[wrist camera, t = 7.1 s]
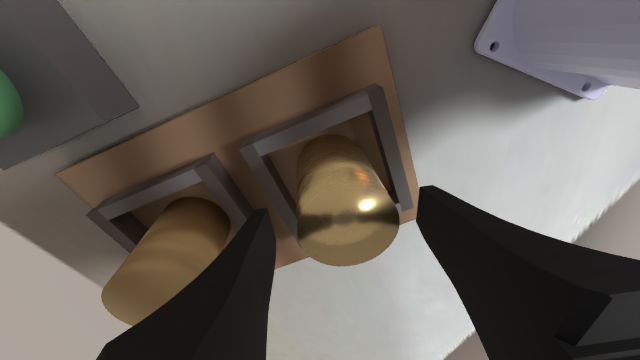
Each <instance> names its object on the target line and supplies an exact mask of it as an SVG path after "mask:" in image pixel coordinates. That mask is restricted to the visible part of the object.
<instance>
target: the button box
mask: <svg viewBox="0 0 640 360" xmlns="http://www.w3.org/2000/svg"><path fill="white" fill-rule="evenodd" d="M0 69H1V70H2V71H3V72H4V73H5V74H6V76H7V77H8V78H9V80H10V81H11V82H12V84H13V85H14V87H15V88H16V90H17V92H18V94H19V96H20V99H21V102H22V105H23V113H24V116H23V121H22V124H21V126H20V128H19V129H18V130H17V131H16V132H15V133H14V134H12V135H11V136H8V137H5V138H3V139H0V168H1V169H3V170H5V169H7V168H10V167H12V166H14V165H16V164H18V163H21V162H23V161H25V160H27V159H30V158H32V157H34V156H36V155H38V154H41V153H43V152H45V151H47V150H50V149H52V148H54V147H56V146H58V145H60V144H62V143H65V142H67V141H69V140H71V139H73V138H75V137H77V136H79V135H81V134H83V133H85V132H88V131H90V130H92V129H94V128H96V127H98V126H100V125H102V124H104V123H106V122H109V121H111V120H113V119H115V118H117V117H119V116H121V115H123V114H125V113H127V112H129V111H132V110H134V109H136V108H138V107H140V106H139V105H138V104H137V102H136V101H135V100H134V98H133V97H132V96H131V95H130V93H129V92H128V91H127V90H126V88H125V87H124V86H123V84H122V83H121V82H120V81H119V79H118V78H117V77H116V75H115V74H114V73H113V72H112V70H111V69H110V68H109V66H108V65H107V64H106V63H105V61H104V60H103V59H102V58H101V56H100V55H99V54H98V52H97V51H96V50H95V49H94V47H93V46H92V45H91V43H90V42H89V41H88V40H87V38H86V37H85V36H84V34H83V33H82V32H81V31H80V29H79V28H78V27H77V25H76V24H75V23H74V22H73V20H72V19H71V18H70V17H69V15H68V14H67V13H66V11H65V10H64V9H63V8H62V6H61V5H60V4H59V2H58V1H57V0H0Z"/></svg>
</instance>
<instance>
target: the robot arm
mask: <svg viewBox="0 0 640 360" xmlns="http://www.w3.org/2000/svg"><path fill="white" fill-rule="evenodd" d="M493 42H494V48H493V49H492V50H491V51H490V45H491V44H492V43H493ZM474 49H475V51H476V52H477V53H479V54H481V55H484V56H486V57H488V58H491V59H493V60H495V61H498V62H500V63H502V64H505V65H507V66H509V67H512V68H514V69H517V70H519V71H521V72H524V73H526V74H528V75H531V76H533V77H535V78H538V79H540V80H542V81H545V82H547V83H550V84H552V85H554V86H557V87H559V88H561V89H564V90H566V91H568V92H571V93H573V94H575V95H578V96H580V97H583V98H585V99H589V100H596V99H598V98H600V97H601V96H602V95H603V94H604V93H605V92H606V90H607V89H608V88H609V87H610V85H614V86H621V87H628V88H635V89H640V0H497V2H496V3H495V5H494V7H493V9H492V11H491V13H490V14H489V16H488V18H487V20H486V22H485V24H484V26H483V27H482V29H481V31H480V33H479V35H478V37H477V39H476V41H475V43H474ZM583 85H584V86H583ZM582 87H583V88H582ZM416 222H417V224H418V227H419V229H420V231H421V233H422V235H423V237H424V239H425V241H426V243H427V244H428V246H429V247H430V249H431V251H432V252H433V254H434V255H435V257H436V258H437V260H438V261H439V263H440V265H441V266H442V268H443V269H444V271H445V272H446V274H447V275H448V277H449V279H450V280H451V282H452V284H453V285H454V287H455V289H456V291H457V293H458V294H459V296H460V298H461V300H462V302H463V304H464V306H465V308H466V310H467V312H468V314H469V316H470V319H471V321H472V323H473V325H474V327H475V329H476V331H477V333H478V335H479V337H480V340H481V342H482V344H483V346H484V349H485V351H486V353H487V356H488V358H489V360H640V260H636V259H632V258H627V257H622V256H617V255H613V254H609V253H605V252H601V251H597V250H593V249H589V248H586V247H582V246H578V245H575V244H571V243H568V242H564V241H561V240H558V239H555V238H552V237H548V236H545V235H542V234H539V233H536V232H534V231H531V230H528V229H525V228H523V227H520V226H518V225H515V224H512V223H510V222H507V221H505V220H503V219H500V218H498V217H496V216H494V215H491V214H489V213H487V212H485V211H483V210H481V209H479V208H477V207H475V206H473V205H471V204H469V203H467V202H465V201H463V200H461V199H459V198H457V197H455V196H453V195H451V194H449V193H448V192H446V191H444V190H442V189H440V188H438V187H435V186H433V185H430V186H423V187H420V189H419V198H418V207H417V216H416ZM275 262H276V237H275V233H274V230H273V226H272V222H271V219H270V215H269V211H268V208H262V209H255V210H254V211H253V212H252V213H251V215H250V216H249V217H248V219H247V220H246V222H245V223H244V224H243V226H242V227H241V228H240V230H239V231H238V232H237V233H236V235H235V236H234V237H233V239H232V240H231V241H230V242H229V243H228V245H227V246H226V247H225V248H224V249H223V250H222V252H221V253H220V254H219V255H218V256H217V257H216V258H215V259H214V260H213V261H212V263H211V264H210V265H209V266H208V267H207V268H205V269H204V270H203V271H202V272H201V273H200V274H199V275H198V276H197V277H196V278H195V279H194V280H193V281H191V282H190V283H189V284H188V285H187V286H186V287H184V288H183V289H182V290H181V291H180V292H179V293H177V294H176V295H175V296H174V297H173V298H171V299H170V300H169V301H167V302H166V303H165V304H164V305H162V306H161V307H160V308H158V309H157V310H155V311H154V312H153V313H151V314H150V315H149V316H147V317H146V318H144V319H143V320H142V321H140V322H139V323H137V324H136V325H134V326H133V327H131V328H130V329H128V330H127V331H125V332H124V333H122V334H121V335H119V336H118V337H116V338H115V339H113V340H111V341H110V342H108V343H107V344H106V345H105V346H104V348H103V349H102V351H101V353H100V354H99V356H98V357H97V359H96V360H266V343H267V323H268V310H269V302H270V296H271V289H272V282H273V276H274V269H275Z"/></svg>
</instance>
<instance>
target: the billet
mask: <svg viewBox="0 0 640 360" xmlns="http://www.w3.org/2000/svg"><path fill="white" fill-rule="evenodd" d="M296 173H297V236H298V240H299V243H300V245H301V247H302V248H303V250H304V251H305V252H306V253H307V254H308V255H309V256H310V257H311V258H313V259H315V260H316V261H319V262H321V263H324V264H327V265H332V266H351V265H357V264H360V263H364V262H366V261H369V260H371V259H373V258H375V257H376V256H378V255H380V254H381V253H382V252H383V251H385V250H386V249H387V248H388V247H389V246H390V244H391V243H392V242H393V240H394V239H395V237H396V235H397V232H398V229H399V224H400V218H399V213H398V210H397V207H396V206H395V204H394V202H393V201H392V199H391V197H390V196H389V194H388V192H387V191H386V189H385V187H384V186H383V184H382V182H381V181H380V179H379V177H378V176H377V174H376V172H375V171H374V169H373V167H372V166H371V164H370V162H369V161H368V159H367V157H366V156H365V154H364V152H363V151H362V149H361V147H360V146H359V145H358V144H357V143H356V142H355V141H354V140H352V139H351V138H349V137H347V136H344V135H340V134H326V135H322V136H319V137H317V138H315V139H313V140H311V141H310V142H309V143H308V144H306V146H305V147H304V148H303V149H302V151H301V152H300V154H299V156H298V159H297V166H296Z"/></svg>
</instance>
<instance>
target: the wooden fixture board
mask: <svg viewBox="0 0 640 360" xmlns="http://www.w3.org/2000/svg"><path fill="white" fill-rule="evenodd" d="M326 134H340V135H344V136H347V137H349V138H351V139H352V140H354V141H355V142H356V143H357V144H358V145H359V146H360V147H361V149H362V151H363V152H364V154H365V156H366V157H367V159H368V161H369V162H370V164H371V166H372V167H373V169H374V171H375V172H376V174H377V176H378V177H379V179H380V181H381V182H382V184H383V186H384V187H385V189H386V191H387V192H388V194H389V196H390V197H391V199H392V201H393V202H394V204H395V206H396V207H397V210H398V213H399V218H400V224H399V225H401V224H403V223H406V222H409V221H412V220H415V219H416V216H417V207H418V198H419V187H418V183H417V179H416V174H415V170H414V166H413V161H412V157H411V153H410V148H409V144H408V140H407V135H406V131H405V127H404V123H403V118H402V114H401V110H400V105H399V101H398V97H397V92H396V88H395V84H394V79H393V75H392V71H391V67H390V62H389V58H388V54H387V49H386V45H385V41H384V36H383V32H382V28H381V25H375V26H373V27H371V28H369V29H367V30H364V31H362V32H360V33H358V34H356V35H354V36H351V37H349V38H347V39H345V40H343V41H341V42H338V43H336V44H334V45H332V46H330V47H328V48H325V49H323V50H321V51H319V52H317V53H315V54H312V55H310V56H308V57H306V58H304V59H301V60H299V61H297V62H295V63H293V64H291V65H288V66H286V67H284V68H282V69H280V70H278V71H275V72H273V73H271V74H269V75H267V76H265V77H262V78H260V79H258V80H256V81H254V82H252V83H249V84H247V85H245V86H243V87H241V88H239V89H236V90H234V91H232V92H230V93H228V94H226V95H223V96H221V97H219V98H217V99H215V100H213V101H210V102H208V103H206V104H204V105H202V106H200V107H197V108H195V109H193V110H191V111H189V112H187V113H184V114H182V115H180V116H178V117H176V118H174V119H171V120H169V121H167V122H165V123H163V124H161V125H158V126H156V127H154V128H152V129H150V130H148V131H145V132H143V133H141V134H139V135H137V136H135V137H132V138H130V139H128V140H126V141H124V142H122V143H119V144H117V145H115V146H113V147H111V148H109V149H106V150H104V151H102V152H100V153H98V154H96V155H93V156H91V157H89V158H87V159H85V160H83V161H80V162H78V163H76V164H74V165H72V166H70V167H68V168H66V169H64V170H62V171H61V172H59V173H57V174H55V175H56V176H58V177H59V178H60V179H61V180H62V181H63V182H64V183H65V184H66V185H68V186H69V187H70V188H71V189H72V190H73V191H74V192H75V193H77V194H78V195H79V196H80V197H81V198H82V199H83V200H84V201H86V202H87V203H88V204H89V205H90V206H91V207H92V208H93V210H91V211H90V212H89V213H88V214H87V215H86V216H88V217H89V218H90V219H91V220H92V221H93V222H94V223H96V224H97V225H98V226H99V227H100V228H101V229H103V230H104V231H105V232H106V233H107V234H108V235H110V236H111V237H112V238H113V239H114V240H115V241H117V242H118V243H119V244H120V245H121V246H122V247H123V248H125V249H126V250H127V251H128V252H129V253H130V254H129V256H128V257H127V258H126V260H125V261H124V262H123V264H122V265H121V266H120V267H119V269H118V270H117V271H116V273H115V274H114V275H113V277H112V278H111V279H110V280H109V282H108V283H107V284H106V286H105V287H104V288H103V291H102V296H101V297H102V302H103V304H104V306H105V308H106V309H107V310H108V311H109V312H110V313H111V314H112V315H113V316H114V317H116V318H117V319H119V320H121V321H123V322H125V323H127V324H130V325H132V326H134V325H136V324H137V323H139V322H140V321H142V320H143V319H144V318H146V317H147V316H149V315H150V314H151V313H153V312H154V311H155V310H157V309H158V308H160V307H161V306H162V305H164V304H165V303H166V302H167V301H169V300H170V299H171V298H173V297H174V296H175V295H176V294H177V293H179V292H180V291H181V290H182V289H183V288H184V287H186V286H187V285H188V284H189V283H190V282H191V281H193V280H194V279H195V278H196V277H197V276H198V275H199V274H200V273H201V272H202V271H203V270H204V269H205V268H207V267H208V266H209V265H210V264H211V263H212V261H213V260H214V259H215V258H216V257H217V256H218V255H219V254H220V253H221V252H222V250H223V249H224V248H225V247H226V246H227V245H228V243H229V242H230V241H231V240H232V239H233V237H234V236H235V235H236V233H237V232H238V231H239V230H240V228H241V227H242V226H243V224H244V223H245V222H246V220H247V219H248V217H249V216H250V215H251V213H252V212H253V211H254V210H255V209H262V208H268V211H269V215H270V219H271V222H272V226H273V230H274V233H275V237H276V262H275V269H277V268H279V267H282V266H285V265H288V264H291V263H294V262H296V261H299V260H302V259H305V258H308V257H310V256H309V255H308V254H307V253H306V252H305V251H304V250H303V248H302V247H301V245H300V243H299V240H298V236H297V173H296V166H297V159H298V156H299V154H300V152H301V151H302V149H303V148H304V147H305V146H306V144H308V143H309V142H310V141H311V140H313V139H315V138H317V137H319V136H322V135H326Z"/></svg>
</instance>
